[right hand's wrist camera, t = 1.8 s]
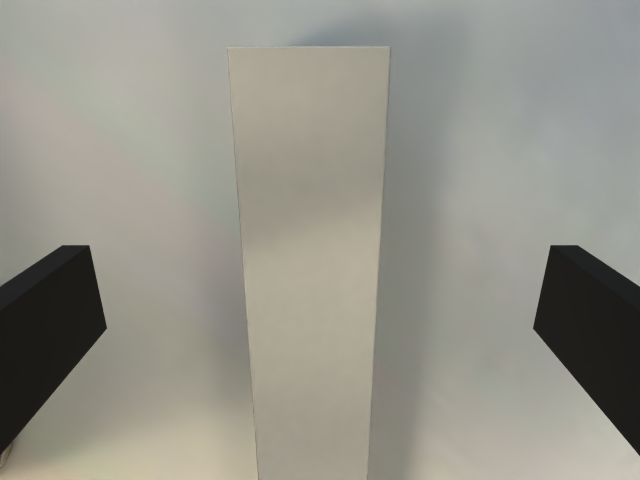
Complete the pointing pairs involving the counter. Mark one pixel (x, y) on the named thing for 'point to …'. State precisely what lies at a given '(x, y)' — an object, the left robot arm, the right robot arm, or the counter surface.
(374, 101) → the beam
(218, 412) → the counter surface
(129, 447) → the counter surface
